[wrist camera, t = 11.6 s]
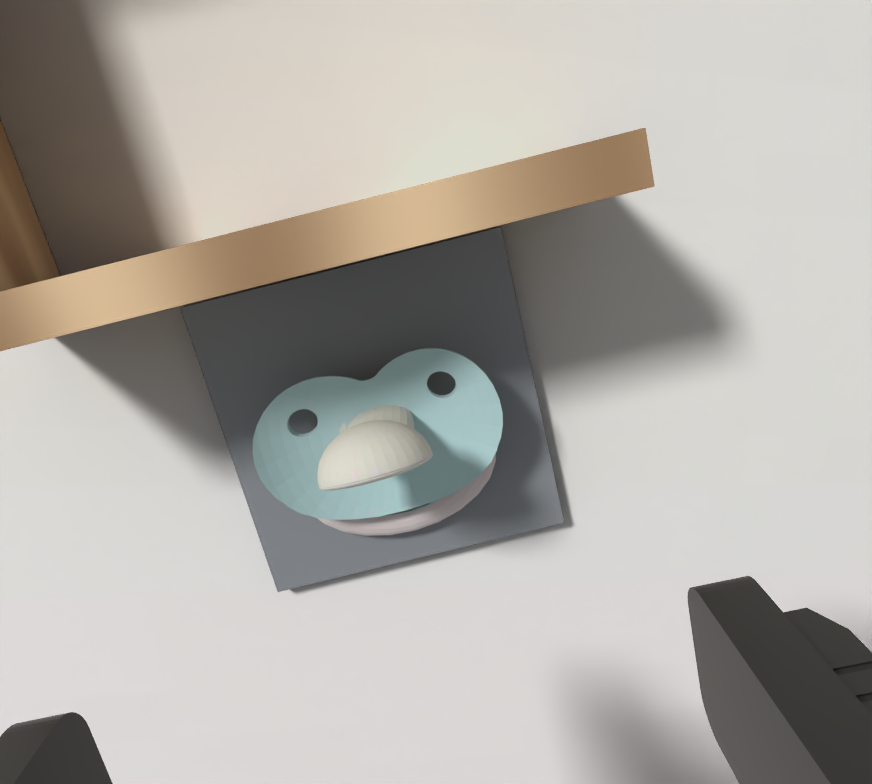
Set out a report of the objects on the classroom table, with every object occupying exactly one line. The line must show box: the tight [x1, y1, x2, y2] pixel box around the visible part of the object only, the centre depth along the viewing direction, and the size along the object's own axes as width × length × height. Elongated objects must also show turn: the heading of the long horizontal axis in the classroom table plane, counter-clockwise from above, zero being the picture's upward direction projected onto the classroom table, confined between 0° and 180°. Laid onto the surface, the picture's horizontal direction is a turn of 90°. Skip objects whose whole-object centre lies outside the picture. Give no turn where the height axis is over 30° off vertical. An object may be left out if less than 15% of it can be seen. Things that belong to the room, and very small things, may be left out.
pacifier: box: [252, 348, 503, 536], centre depth 20 cm, size 7×6×6 cm
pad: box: [181, 227, 564, 592], centre depth 23 cm, size 10×10×1 cm
